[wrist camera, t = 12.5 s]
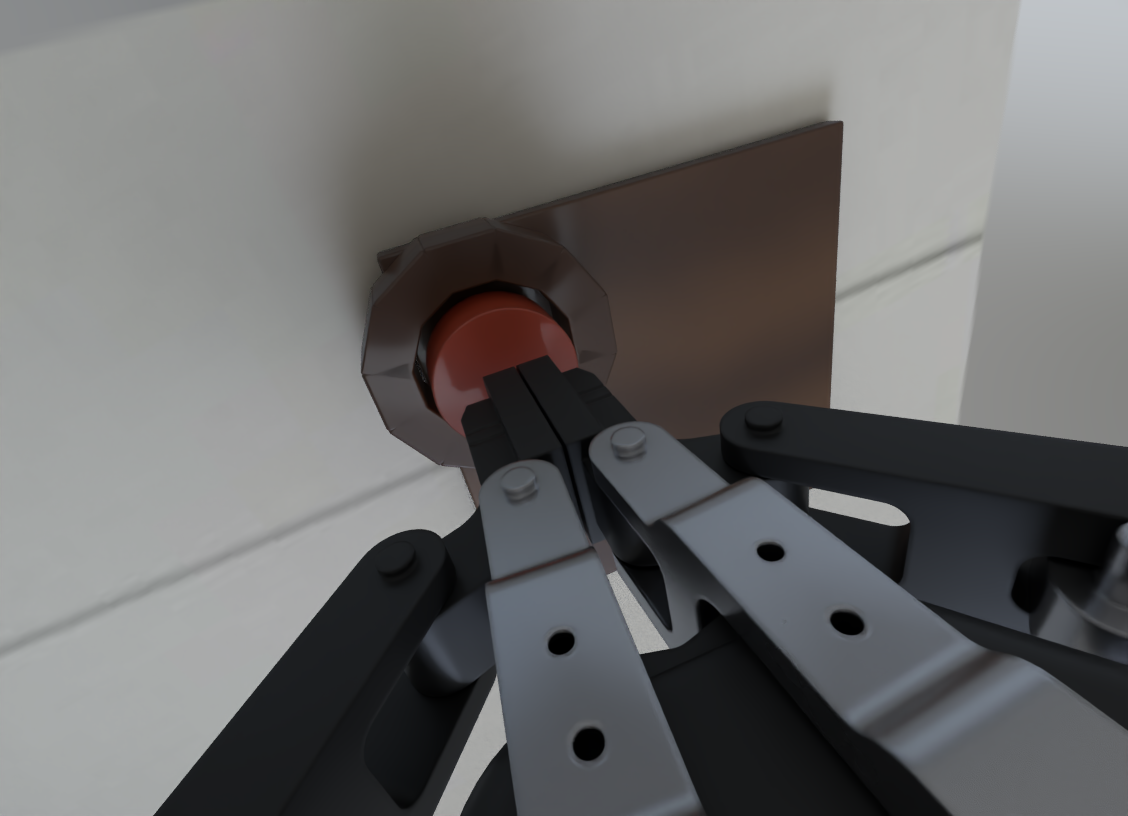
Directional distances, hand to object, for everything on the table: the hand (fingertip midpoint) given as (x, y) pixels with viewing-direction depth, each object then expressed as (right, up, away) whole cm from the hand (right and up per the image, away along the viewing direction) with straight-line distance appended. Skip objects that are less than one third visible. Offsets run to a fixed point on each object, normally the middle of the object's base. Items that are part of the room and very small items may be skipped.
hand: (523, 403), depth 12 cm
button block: (+4, 0, +7) cm, 8 cm away
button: (-1, +1, +2) cm, 3 cm away
